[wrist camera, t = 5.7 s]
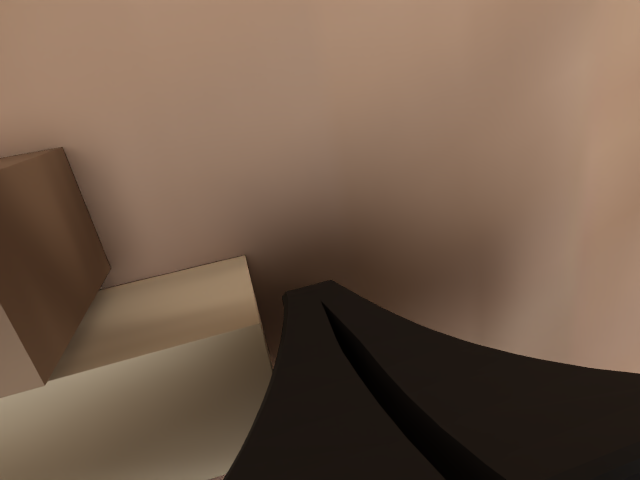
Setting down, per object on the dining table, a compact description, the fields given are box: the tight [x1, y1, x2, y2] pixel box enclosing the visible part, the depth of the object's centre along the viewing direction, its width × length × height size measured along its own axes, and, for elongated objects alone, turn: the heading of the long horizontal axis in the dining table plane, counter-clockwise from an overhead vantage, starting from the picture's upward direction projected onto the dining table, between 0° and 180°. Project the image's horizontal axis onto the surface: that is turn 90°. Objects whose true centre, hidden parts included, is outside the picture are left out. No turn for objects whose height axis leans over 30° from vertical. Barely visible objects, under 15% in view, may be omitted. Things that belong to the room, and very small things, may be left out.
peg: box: [0, 255, 273, 480], centre depth 8 cm, size 3×9×3 cm, turn 98°
